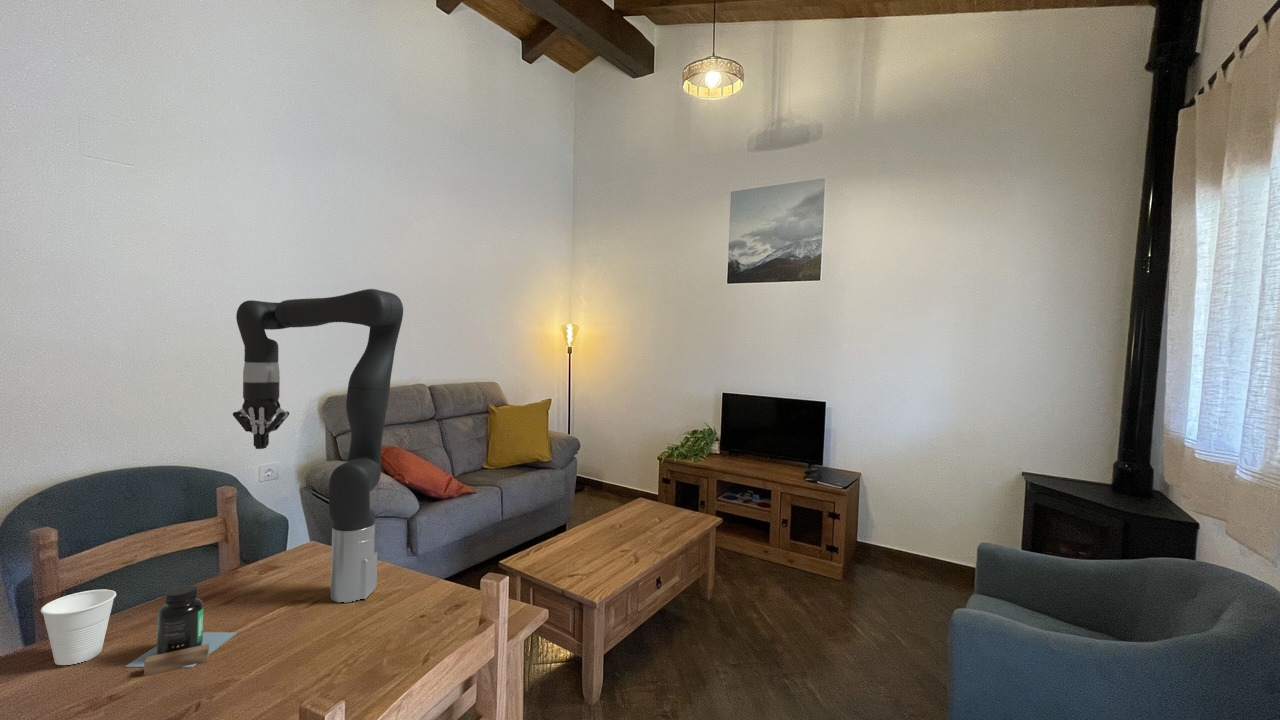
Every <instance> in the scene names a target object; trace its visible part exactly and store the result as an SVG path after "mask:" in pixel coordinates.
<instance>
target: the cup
mask: <svg viewBox="0 0 1280 720" xmlns="http://www.w3.org/2000/svg"><path fill="white" fill-rule="evenodd" d="M116 596H117V592H116V591H115V590H111V589H107V588H104V589H92V590H84V591H80V592H75V593H72V594H68V595H64V596H62V597H59V598H56V599H54V600H52V601H49V602H47V603H46V604H45V605H43V606H42V607H41V609H40V613H41V614H42V615H43V618H44V623H45V628H46V631H47V635H48V639H49V642H50V643H49V644H50V647H51V652H52V656H53V661H54V664H55V665H57V666H59V665H71V664H76V665H78V664H77V663H80V664H82V663H81V662H83V663H85V662H84V661H86V662H88V661H90V660H93V659H94V658H96V657H97V656H98V655H99V654H100V653H101V652H102V651H103V648H104V647H103V646H104V642H105V637H106V633H107V629H108V625H109V620H110V618H111V617H110V616H111V612H112V608H113V604H114V601H115V598H116ZM71 666H72V665H71Z"/></svg>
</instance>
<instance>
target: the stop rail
mask: <svg viewBox="0 0 1280 720" xmlns="http://www.w3.org/2000/svg"><path fill="white" fill-rule="evenodd" d="M209 657H210V654H209V644H206V645H201V646H196V647H192V648H187V649H182V650H178V651H173V652H168V653H164V654H159V655H154V656H149V657H147V658H146V660H145V662H144V667H143V677H146V676H151V675H155V674H158V673H163V672H168V671H173V670H178V669H182V667H183V666H187V665H192V664H196V665H198V664H203V663H207V662H208V661H209Z"/></svg>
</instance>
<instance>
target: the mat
mask: <svg viewBox="0 0 1280 720" xmlns="http://www.w3.org/2000/svg"><path fill="white" fill-rule="evenodd" d="M237 634H238V632H231V631H230V632H228V631H227V632H225V631H224V632H223V631H222V632H218V631H217V632H214V631H213V632H211V631H210V632H206V631H205V632H204V631H203V642H202V645H206V644H209V655H210V654H212V653H213V652H214V651H216V650H217V649H219V648H220V647H221V646H223V645H224V644H225V643H226V642H227V641H229V640H231V639H232V638H233V637H234V636H235V635H237ZM154 655H157V645H155V646H154V647H152V648H151V649H150V650H148V651H146V652H145V653H143V654H142V655H140V656H138V657H137V658H136V659H134V660H132V661H131V662H130V663H128V664H127V665H125V666H124V668H144V662H145V660H146V658H147V657H149V656H154ZM196 665H197V664H192V665H187V666H183V667H182V668H184V669H186V668H187V669H188V668H190V669H192V668H193V667H194V666H196ZM182 668H181V669H182Z"/></svg>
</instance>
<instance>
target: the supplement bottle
mask: <svg viewBox="0 0 1280 720" xmlns="http://www.w3.org/2000/svg"><path fill="white" fill-rule="evenodd" d="M163 603H164V605H163V606H161V608H160V609H159V610H158V612H157V619H156V621H157V624H156V646H157V655H159V654H164V653H168V652H173V651H178V650H182V649H187V648H192V647H196V646H201V645H202V642H203V632H204V602H203V600H201V599H200V598H198V586H196V585H194V584H193V585H192V584H188V585H187V584H186V585H180V586H176V587H173V588H171V589H168V590H167V591H166V592H165V593H164V601H163Z"/></svg>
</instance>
